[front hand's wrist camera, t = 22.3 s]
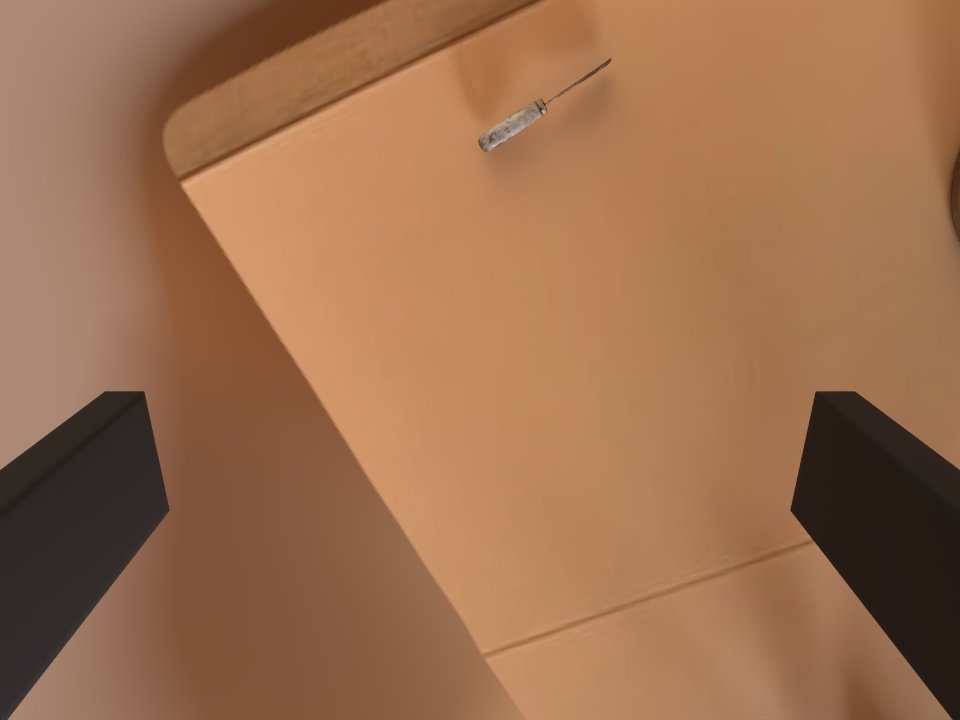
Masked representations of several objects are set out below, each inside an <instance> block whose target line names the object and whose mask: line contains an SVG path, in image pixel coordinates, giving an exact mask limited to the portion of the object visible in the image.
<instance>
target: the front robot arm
mask: <svg viewBox="0 0 960 720" xmlns="http://www.w3.org/2000/svg"><path fill="white" fill-rule="evenodd" d="M952 214H953V221H954V226H955V230H956V233H957V236H958V239H959V241H960V154H959V157H958V160H957V164H956V168H955V172H954V178H953V185H952ZM790 511H791V512H792V513H793V514H794V516H795V517H796V518H797V520H798V521H799V522H800V523H801V525H802V526H803V527H804V529H805V530H806V531H807V532H808V534H809V535H810V536H811V538H812V539H813V540H814V541H815V543H816V544H817V545H818V547H819V548H820V549H821V551H822V552H823V553H824V554H825V556H826V557H827V558H828V560H829V561H830V562H831V563H832V565H833V566H834V567H835V569H836V570H837V571H838V572H839V574H840V575H841V576H842V578H843V579H844V580H845V581H846V583H847V584H848V585H849V587H850V588H851V589H852V590H853V592H854V593H855V594H856V596H857V597H858V598H859V600H860V601H861V602H862V603H863V605H864V606H865V607H866V609H867V610H868V611H869V612H870V614H871V615H872V616H873V618H874V619H875V620H876V621H877V623H878V624H879V625H880V627H881V628H882V629H883V630H884V632H885V633H886V634H887V636H888V637H889V638H890V640H891V641H892V642H893V643H894V645H895V646H896V647H897V649H898V650H899V651H900V652H901V654H902V655H903V656H904V658H905V659H906V660H907V661H908V663H909V664H910V665H911V667H912V668H913V669H914V670H915V672H916V673H917V674H918V676H919V677H920V678H921V679H922V681H923V682H924V683H925V685H926V686H927V687H928V689H929V690H930V691H931V692H932V694H933V695H934V696H935V698H936V699H937V700H938V701H939V703H940V704H941V705H942V707H943V708H944V709H945V710H946V712H947V713H948V714H949V716H950V717H951V718H952V719H953V720H960V470H959V469H958V468H956V467H955V466H954V465H952V464H951V463H950V462H948V461H947V460H946V459H944V458H943V457H942V456H940V455H939V454H938V453H936V452H935V451H934V450H932V449H931V448H930V447H928V446H927V445H926V444H924V443H923V442H922V441H920V440H919V439H918V438H916V437H915V436H914V435H912V434H911V433H910V432H908V431H907V430H906V429H904V428H903V427H902V426H900V425H899V424H898V423H896V422H895V421H894V420H892V419H891V418H890V417H888V416H887V415H886V414H884V413H883V412H882V411H880V410H879V409H878V408H876V407H875V406H874V405H872V404H871V403H870V402H868V401H867V400H866V399H864V398H863V397H862V396H860V395H859V394H858V393H856V392H855V391H816V393H815V397H814V402H813V407H812V412H811V416H810V421H809V426H808V430H807V435H806V440H805V444H804V449H803V454H802V458H801V463H800V468H799V472H798V477H797V482H796V487H795V491H794V496H793V501H792V505H791V510H790ZM168 512H169V505H168V501H167V496H166V491H165V487H164V482H163V477H162V472H161V468H160V463H159V459H158V454H157V449H156V445H155V440H154V435H153V430H152V426H151V421H150V416H149V412H148V407H147V402H146V397H145V393H144V392H143V391H141V392H140V391H133V392H131V391H125V392H123V391H121V392H120V391H119V392H117V391H116V392H115V391H113V392H112V391H111V392H109V391H108V392H106V391H105V392H104V393H102V394H101V395H100V396H98V397H97V398H96V399H94V400H93V401H92V402H90V403H89V404H88V405H86V406H85V407H84V408H82V409H81V410H80V411H78V412H77V413H76V414H74V415H73V416H72V417H70V418H69V419H68V420H66V421H65V422H64V423H62V424H61V425H60V426H58V427H57V428H56V429H54V430H53V431H52V432H50V433H49V434H48V435H46V436H45V437H44V438H42V439H41V440H40V441H38V442H37V443H36V444H34V445H33V446H32V447H30V448H29V449H28V450H26V451H25V452H24V453H22V454H21V455H20V456H18V457H17V458H16V459H14V460H13V461H12V462H10V463H9V464H8V465H7V466H5V467H4V468H2V469H1V470H0V720H7V719H8V718H9V717H10V716H11V714H12V713H13V712H14V710H15V709H16V708H17V707H18V705H19V704H20V703H21V701H22V700H23V699H24V698H25V696H26V695H27V694H28V692H29V691H30V690H31V688H32V687H33V686H34V685H35V683H36V682H37V681H38V679H39V678H40V677H41V676H42V674H43V673H44V672H45V670H46V669H47V668H48V667H49V665H50V664H51V663H52V661H53V660H54V659H55V658H56V656H57V655H58V654H59V652H60V651H61V650H62V649H63V647H64V646H65V645H66V643H67V642H68V641H69V640H70V638H71V637H72V636H73V634H74V633H75V632H76V630H77V629H78V628H79V627H80V625H81V624H82V623H83V621H84V620H85V619H86V618H87V616H88V615H89V614H90V612H91V611H92V610H93V608H94V607H95V606H96V605H97V603H98V602H99V601H100V599H101V598H102V597H103V596H104V594H105V593H106V592H107V590H108V589H109V588H110V587H111V585H112V584H113V583H114V581H115V580H116V579H117V578H118V576H119V575H120V574H121V572H122V571H123V570H124V569H125V567H126V566H127V565H128V563H129V562H130V561H131V560H132V558H133V557H134V556H135V554H136V553H137V552H138V550H139V549H140V548H141V547H142V545H143V544H144V543H145V541H146V540H147V539H148V538H149V536H150V535H151V534H152V532H153V531H154V530H155V528H156V527H157V526H158V525H159V523H160V522H161V521H162V520H163V518H164V517H165V516H166V514H167V513H168Z"/></svg>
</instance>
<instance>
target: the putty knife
mask: <svg viewBox="0 0 960 720" xmlns="http://www.w3.org/2000/svg"><path fill="white" fill-rule="evenodd" d="M610 61H611V59H609V60H608V61H606V62H605V63H604V64H602V65H601V66H599V67H598V68H597V69H595V70H594V71H592V72H591V73H589V74H588V75H586V76H585V77H583V78H582V79H581V80H579V81H578V82H576V83H575V84H573V85H572V86H570V87H569V88H567V89H566V90H564V91H563V92H561V93H560V94H558V95H557V96H555V97H554V98H553V99H551V100H550V101H548V102H546V103H544V102H543V101H542V99H539V100H538V101H535V102H533V103H531V104H529V105H528V106H526V107H525V108H523V109H521V110H520V111H518V112H516V113H515V114H513V115H511V116H510V117H508V118H507V119H505V120H504V121H502V122H501V123H499V124H498V125H496V126H495V127H493V128H492V129H490V130H489V131H487V132H486V133H484V134H483V135H482V136H480V137H479V139H478V142H479V145H480V147H481V149H482V150H483V151H484V152H489V151H491V150H492V149H494V148H495V147H497V146H499V145H500V144H502V143H503V142H505V141H507V140H508V139H510V138H511V137H513V136H514V135H516V134H517V133H519V132H520V131H522V130H523V129H525V128H526V127H528V126H529V125H531V124H532V123H534V122H535V121H536V120H538V119H539V118H540V117H541V116H543V114H544V113H546V112H547V108H546V106H545V105H547V104H549V103H550V102H552V101H553V100H555V99H556V98H558V97H559V96H561V95H562V94H564V93H566V92H567V91H569V90H570V89H572V88H573V87H575V86H577V85H578V84H580V83H581V82H583V81H584V80H586V79H587V78H589V77H590V76H592V75H593V74H595V73H596V72H598V71H599V70H601V69H602V68H604V67H605V66H607V65H608V64H609V63H610Z"/></svg>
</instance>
